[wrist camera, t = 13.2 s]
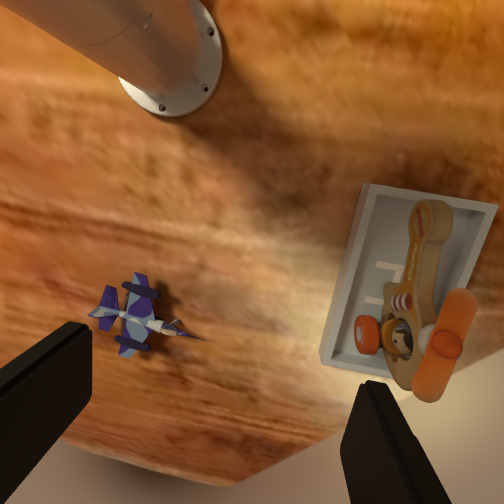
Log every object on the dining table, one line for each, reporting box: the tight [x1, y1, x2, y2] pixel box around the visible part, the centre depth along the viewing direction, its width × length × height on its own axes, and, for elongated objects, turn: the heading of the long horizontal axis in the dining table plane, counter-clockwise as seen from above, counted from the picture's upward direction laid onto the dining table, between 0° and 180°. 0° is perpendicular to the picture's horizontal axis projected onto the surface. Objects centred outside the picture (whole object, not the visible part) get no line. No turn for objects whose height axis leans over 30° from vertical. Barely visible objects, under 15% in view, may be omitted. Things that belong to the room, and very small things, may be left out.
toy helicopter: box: [354, 199, 477, 403], centre depth 29 cm, size 8×21×14 cm, turn 179°
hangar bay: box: [319, 183, 499, 378], centre depth 36 cm, size 24×14×3 cm, turn 171°
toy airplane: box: [88, 272, 205, 358], centre depth 40 cm, size 13×14×4 cm
